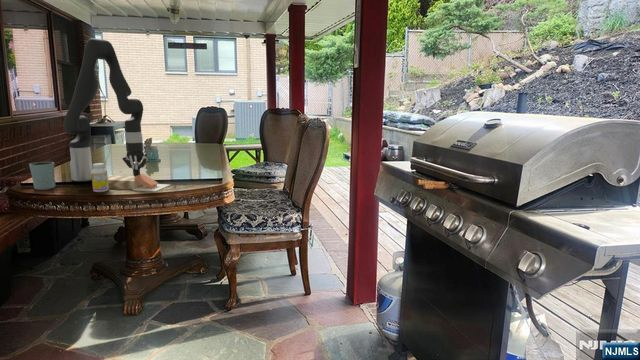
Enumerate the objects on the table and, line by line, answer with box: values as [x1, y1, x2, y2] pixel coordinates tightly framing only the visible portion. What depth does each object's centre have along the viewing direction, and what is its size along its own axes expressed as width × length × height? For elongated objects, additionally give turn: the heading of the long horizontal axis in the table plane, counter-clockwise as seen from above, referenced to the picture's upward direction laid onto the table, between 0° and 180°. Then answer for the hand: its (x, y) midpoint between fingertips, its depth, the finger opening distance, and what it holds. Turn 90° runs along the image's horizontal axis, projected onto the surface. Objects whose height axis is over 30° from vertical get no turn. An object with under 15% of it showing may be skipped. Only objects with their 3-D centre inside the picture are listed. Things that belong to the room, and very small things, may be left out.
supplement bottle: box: [91, 162, 110, 193], centre depth 197 cm, size 7×7×13 cm
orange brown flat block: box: [134, 173, 159, 189], centre depth 205 cm, size 9×6×2 cm, turn 80°
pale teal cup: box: [29, 161, 56, 191], centre depth 202 cm, size 10×10×12 cm
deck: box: [107, 174, 143, 190], centre depth 208 cm, size 20×10×4 cm, turn 81°
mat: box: [132, 183, 171, 192], centre depth 206 cm, size 12×14×1 cm
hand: (137, 176), depth 206 cm, fingers closed
